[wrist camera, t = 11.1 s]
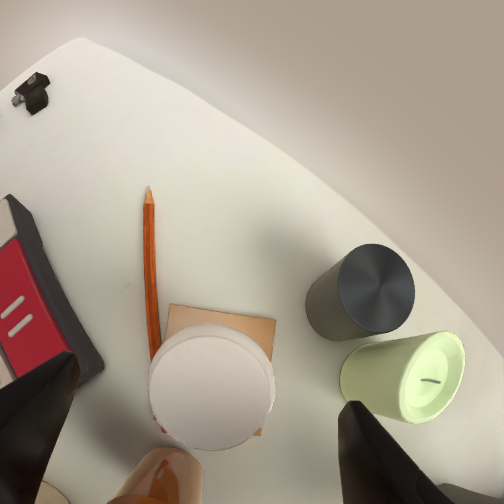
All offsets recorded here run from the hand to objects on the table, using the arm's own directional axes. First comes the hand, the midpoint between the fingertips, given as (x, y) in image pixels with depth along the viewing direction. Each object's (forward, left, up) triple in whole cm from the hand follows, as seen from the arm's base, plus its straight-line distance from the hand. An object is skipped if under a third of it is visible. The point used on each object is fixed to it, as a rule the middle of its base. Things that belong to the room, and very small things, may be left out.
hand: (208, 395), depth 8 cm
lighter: (+27, +26, -9) cm, 39 cm away
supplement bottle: (0, 0, -10) cm, 10 cm away
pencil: (+4, +5, -11) cm, 12 cm away
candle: (+1, -11, -10) cm, 15 cm away
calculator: (0, +16, -11) cm, 19 cm away
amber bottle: (-8, +2, -10) cm, 13 cm away
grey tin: (+6, -8, -10) cm, 14 cm away
